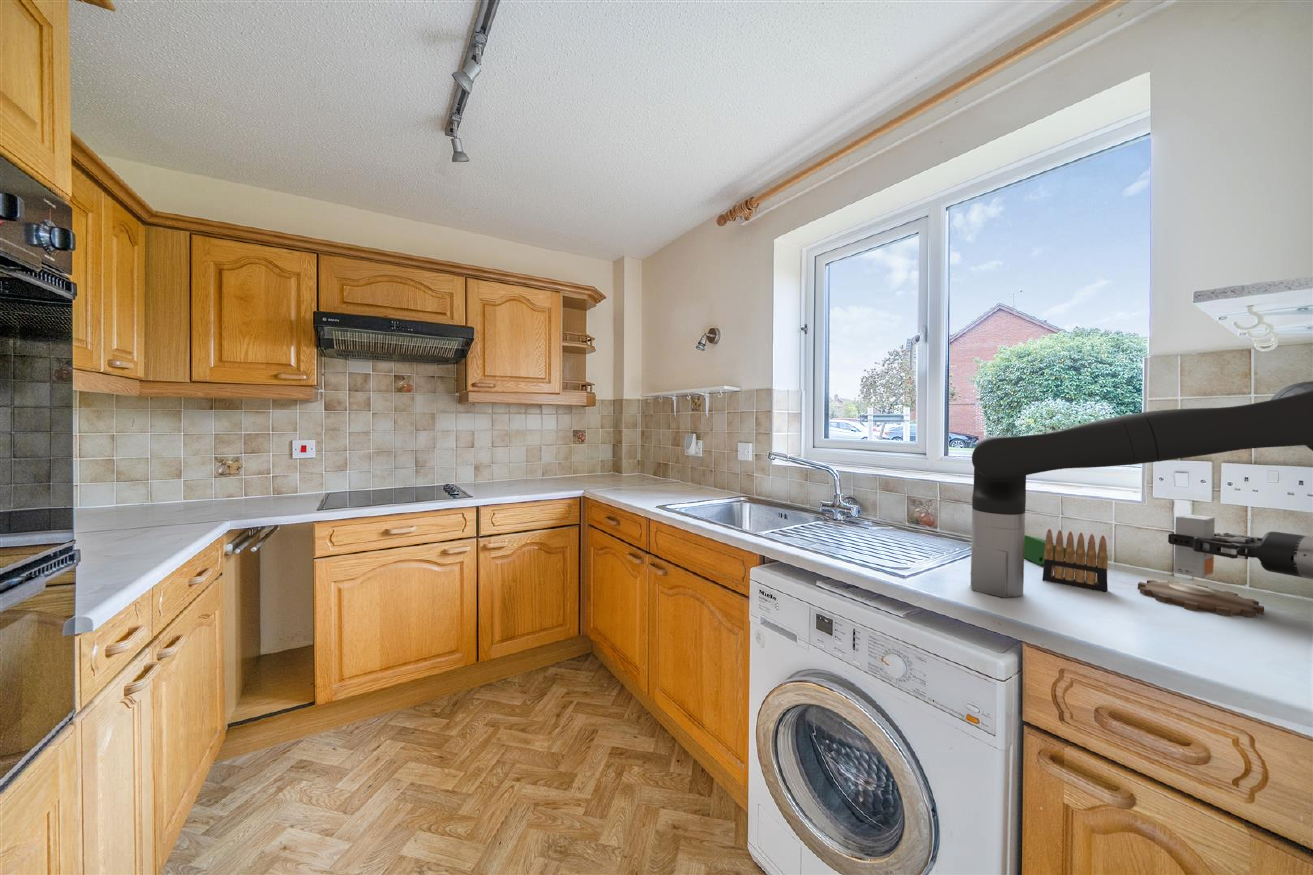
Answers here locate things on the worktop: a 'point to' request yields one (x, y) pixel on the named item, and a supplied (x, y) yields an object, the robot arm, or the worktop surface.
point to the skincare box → (1185, 556)
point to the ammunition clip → (1076, 562)
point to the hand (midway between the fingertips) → (1178, 536)
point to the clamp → (1035, 549)
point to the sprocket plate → (1201, 598)
